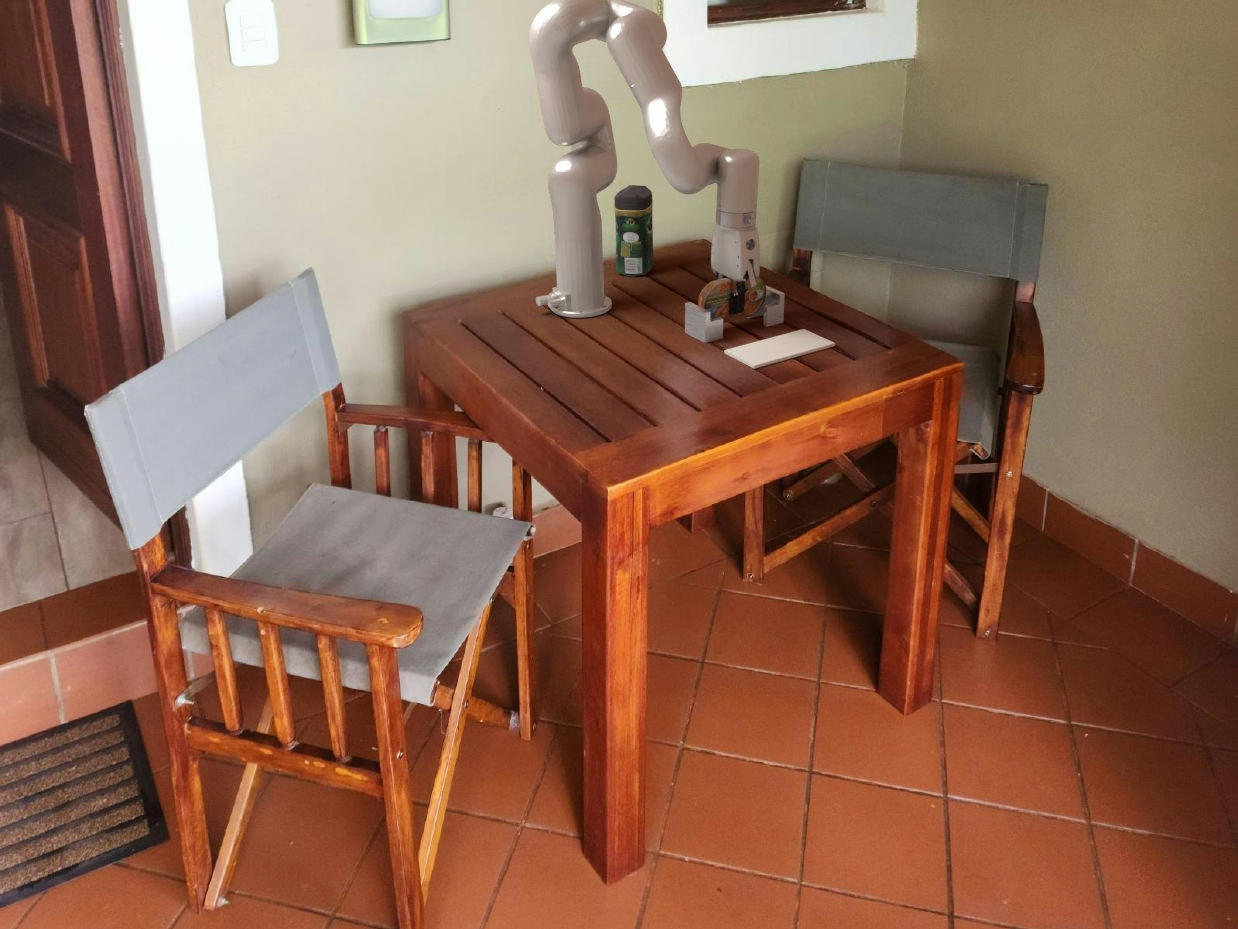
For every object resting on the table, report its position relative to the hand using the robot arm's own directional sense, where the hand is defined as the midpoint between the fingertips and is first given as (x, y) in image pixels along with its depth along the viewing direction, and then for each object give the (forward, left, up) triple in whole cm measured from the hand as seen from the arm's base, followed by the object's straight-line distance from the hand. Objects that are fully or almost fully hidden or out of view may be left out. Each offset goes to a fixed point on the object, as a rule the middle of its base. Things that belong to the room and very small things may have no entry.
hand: (731, 309), depth 228 cm
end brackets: (0, -1, -4) cm, 4 cm away
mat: (0, -15, -4) cm, 15 cm away
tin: (0, 0, -2) cm, 2 cm away
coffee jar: (+3, +40, -4) cm, 41 cm away
